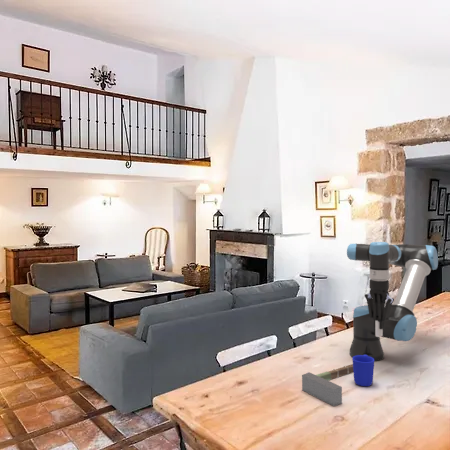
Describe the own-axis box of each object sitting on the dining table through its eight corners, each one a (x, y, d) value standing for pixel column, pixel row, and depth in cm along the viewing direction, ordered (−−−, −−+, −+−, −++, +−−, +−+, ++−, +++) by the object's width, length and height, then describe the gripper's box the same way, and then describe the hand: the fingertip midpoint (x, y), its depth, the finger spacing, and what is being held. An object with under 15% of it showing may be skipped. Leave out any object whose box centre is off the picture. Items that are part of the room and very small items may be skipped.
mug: (376, 377, 173) (376, 353, 173) (373, 389, 162) (373, 363, 162) (355, 374, 176) (355, 351, 176) (350, 386, 166) (350, 360, 165)
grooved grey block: (302, 390, 162) (302, 374, 162) (311, 387, 165) (310, 372, 164) (333, 406, 149) (333, 389, 149) (343, 403, 151) (342, 386, 151)
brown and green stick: (305, 384, 167) (305, 377, 167) (356, 368, 183) (356, 362, 183) (309, 386, 165) (309, 379, 165) (361, 369, 182) (361, 363, 181)
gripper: (360, 278, 179) (360, 333, 180) (386, 282, 168) (386, 341, 169) (371, 276, 183) (371, 331, 184) (398, 280, 172) (398, 338, 173)
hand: (379, 336), depth 177 cm, fingers closed
